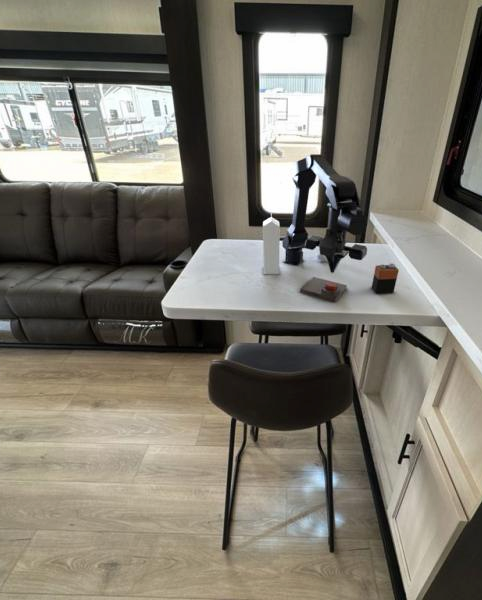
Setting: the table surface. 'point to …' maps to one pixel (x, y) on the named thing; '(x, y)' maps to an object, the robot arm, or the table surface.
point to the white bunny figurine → (321, 257)
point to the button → (331, 285)
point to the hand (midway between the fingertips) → (332, 272)
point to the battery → (385, 278)
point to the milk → (271, 245)
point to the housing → (322, 289)
